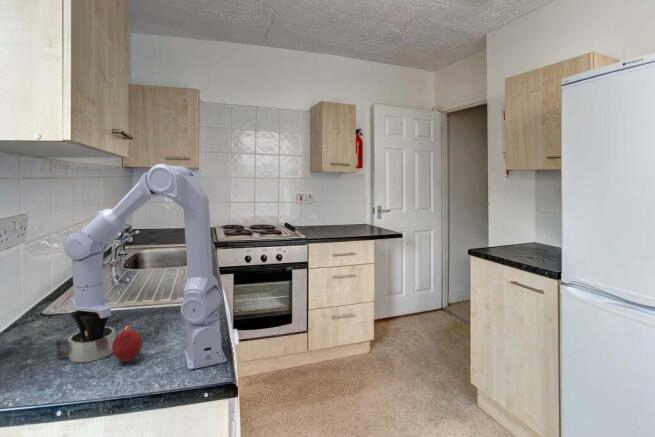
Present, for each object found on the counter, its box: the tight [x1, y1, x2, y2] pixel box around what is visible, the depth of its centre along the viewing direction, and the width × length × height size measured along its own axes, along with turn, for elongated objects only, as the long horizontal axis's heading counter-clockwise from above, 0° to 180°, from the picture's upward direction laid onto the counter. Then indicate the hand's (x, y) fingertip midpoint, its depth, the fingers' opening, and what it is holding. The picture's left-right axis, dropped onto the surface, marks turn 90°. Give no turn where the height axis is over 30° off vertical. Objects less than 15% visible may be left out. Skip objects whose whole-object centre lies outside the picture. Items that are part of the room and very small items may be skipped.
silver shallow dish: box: [55, 326, 117, 364], centre depth 82 cm, size 9×11×4 cm
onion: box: [112, 325, 143, 362], centre depth 79 cm, size 6×6×8 cm
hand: (92, 341), depth 82 cm, fingers closed on plunger, 3 cm apart
